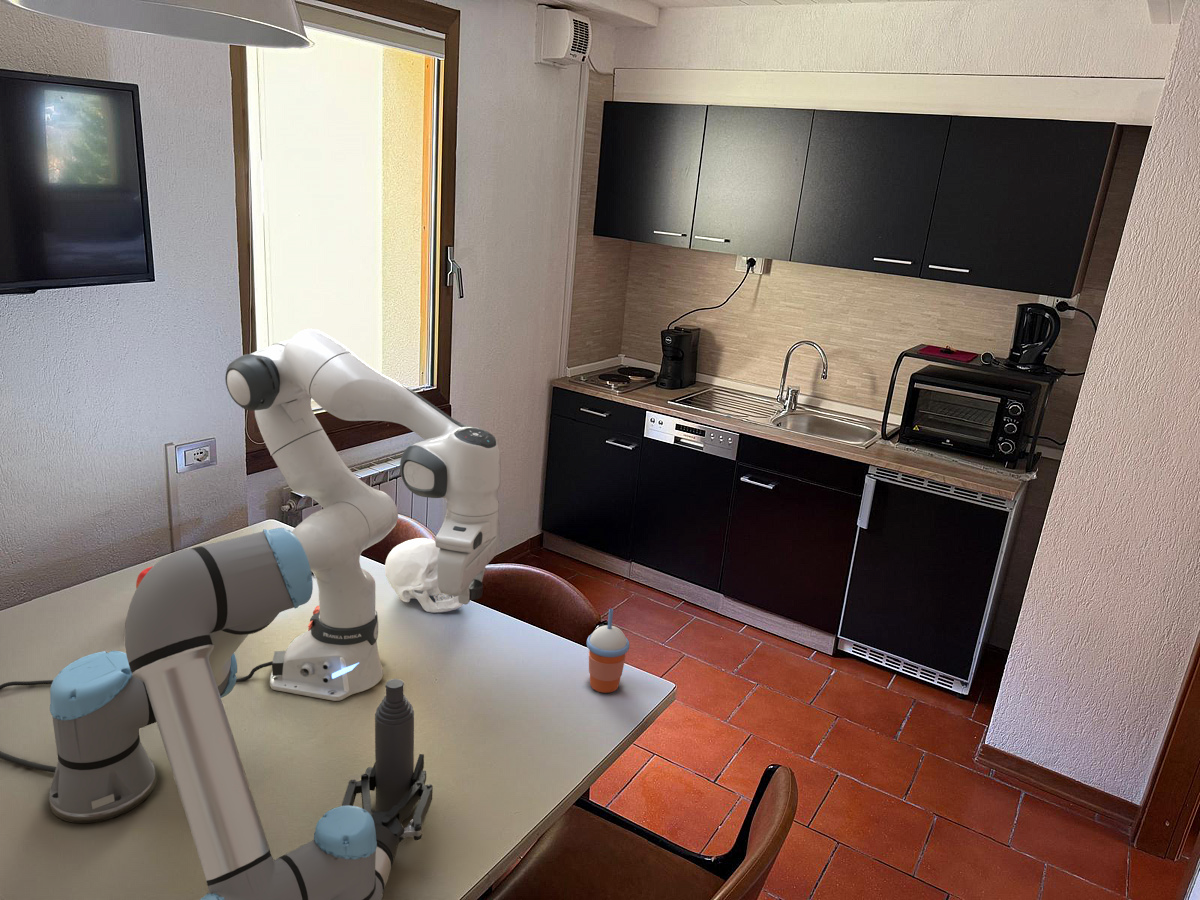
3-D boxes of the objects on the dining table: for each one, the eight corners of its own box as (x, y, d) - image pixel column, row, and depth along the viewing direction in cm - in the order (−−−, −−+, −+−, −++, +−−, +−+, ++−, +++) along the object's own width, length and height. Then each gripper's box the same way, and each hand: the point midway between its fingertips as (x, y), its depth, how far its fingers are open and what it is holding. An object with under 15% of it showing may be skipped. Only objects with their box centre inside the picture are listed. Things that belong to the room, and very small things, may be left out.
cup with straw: (621, 700, 178) (628, 623, 173) (578, 692, 180) (585, 616, 174) (628, 677, 187) (636, 603, 181) (588, 670, 188) (594, 596, 183)
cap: (486, 593, 151) (487, 582, 150) (474, 602, 147) (475, 591, 147) (467, 587, 152) (467, 576, 152) (454, 596, 149) (455, 585, 148)
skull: (448, 622, 203) (451, 561, 199) (372, 599, 211) (374, 540, 207) (477, 602, 215) (480, 543, 211) (405, 581, 223) (406, 524, 219)
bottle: (414, 819, 141) (416, 692, 134) (376, 825, 139) (375, 696, 132) (411, 794, 147) (412, 671, 139) (374, 799, 145) (373, 674, 138)
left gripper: (300, 878, 125) (345, 774, 147) (431, 886, 125) (456, 781, 148) (299, 836, 123) (345, 737, 145) (432, 844, 123) (458, 744, 145)
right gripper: (477, 500, 156) (475, 569, 160) (430, 541, 137) (429, 618, 141) (510, 505, 155) (507, 574, 159) (467, 548, 136) (465, 625, 140)
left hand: (401, 759), depth 146 cm, fingers closed on bottle, 6 cm apart
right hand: (470, 595), depth 150 cm, fingers closed on cap, 4 cm apart
